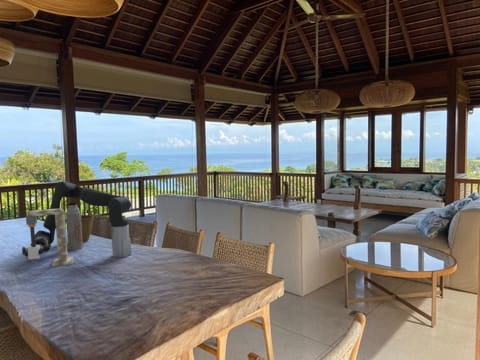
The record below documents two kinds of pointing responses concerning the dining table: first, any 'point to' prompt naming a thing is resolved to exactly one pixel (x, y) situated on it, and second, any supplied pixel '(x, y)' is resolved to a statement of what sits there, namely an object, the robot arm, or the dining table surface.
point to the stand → (57, 234)
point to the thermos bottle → (74, 227)
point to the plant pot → (86, 226)
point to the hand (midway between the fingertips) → (33, 253)
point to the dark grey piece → (32, 231)
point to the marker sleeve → (33, 252)
